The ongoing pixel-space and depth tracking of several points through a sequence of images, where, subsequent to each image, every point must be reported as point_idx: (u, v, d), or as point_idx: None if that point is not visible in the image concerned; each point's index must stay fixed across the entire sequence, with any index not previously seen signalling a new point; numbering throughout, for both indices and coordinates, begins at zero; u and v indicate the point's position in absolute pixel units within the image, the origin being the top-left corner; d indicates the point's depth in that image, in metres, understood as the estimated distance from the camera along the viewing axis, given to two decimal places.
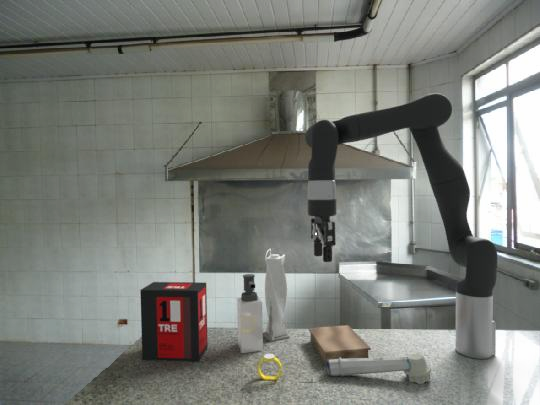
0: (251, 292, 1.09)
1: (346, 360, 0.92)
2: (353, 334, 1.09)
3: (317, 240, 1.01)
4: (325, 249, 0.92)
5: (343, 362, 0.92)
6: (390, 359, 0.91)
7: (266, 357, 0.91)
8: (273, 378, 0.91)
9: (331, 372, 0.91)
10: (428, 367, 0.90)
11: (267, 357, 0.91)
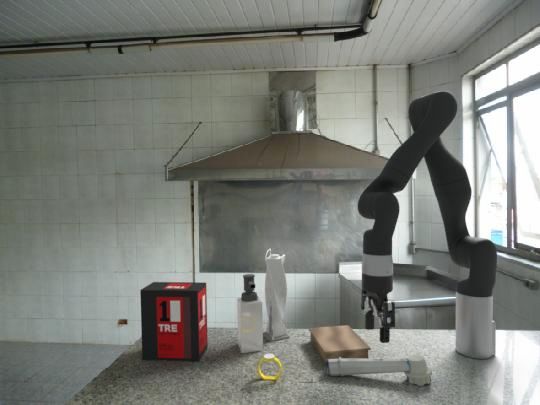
0: (251, 292, 1.09)
1: (346, 360, 0.92)
2: (353, 334, 1.09)
3: (369, 312, 0.95)
4: (383, 329, 0.86)
5: (342, 362, 0.92)
6: (390, 360, 0.90)
7: (266, 357, 0.91)
8: (273, 378, 0.91)
9: (330, 371, 0.92)
10: (429, 369, 0.89)
11: (267, 357, 0.91)
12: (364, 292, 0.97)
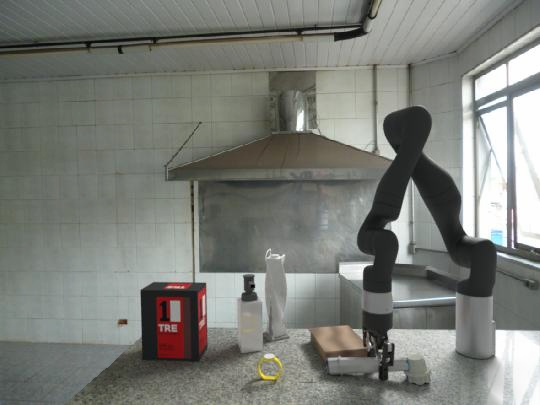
0: (251, 292, 1.09)
1: (345, 359, 0.93)
2: (353, 334, 1.09)
3: (371, 351, 0.95)
4: (381, 368, 0.87)
5: (342, 361, 0.92)
6: (389, 359, 0.91)
7: (266, 357, 0.91)
8: (273, 378, 0.91)
9: (330, 370, 0.92)
10: (428, 368, 0.89)
11: (267, 357, 0.91)
12: (365, 328, 0.97)
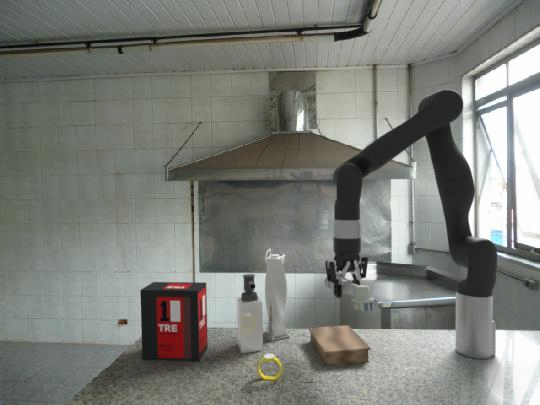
0: (251, 292, 1.09)
1: None
2: (353, 334, 1.09)
3: (354, 278, 1.03)
4: None
5: None
6: (350, 283, 0.99)
7: (266, 357, 0.91)
8: (273, 378, 0.91)
9: (325, 283, 1.13)
10: (368, 299, 0.90)
11: (267, 357, 0.91)
12: None
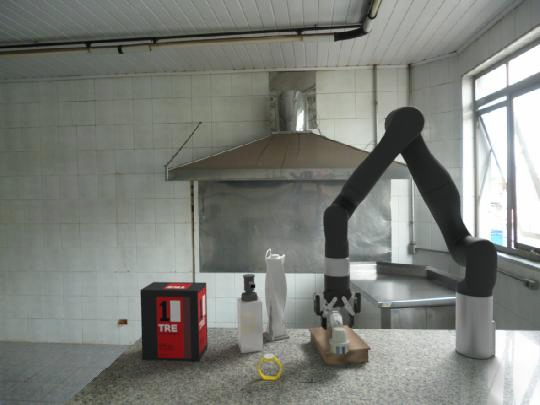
0: (251, 292, 1.09)
1: (334, 313, 1.14)
2: (353, 334, 1.09)
3: (349, 312, 1.07)
4: None
5: (332, 313, 1.15)
6: (336, 323, 1.04)
7: (266, 357, 0.91)
8: (273, 378, 0.91)
9: None
10: (340, 343, 0.94)
11: (267, 357, 0.91)
12: None
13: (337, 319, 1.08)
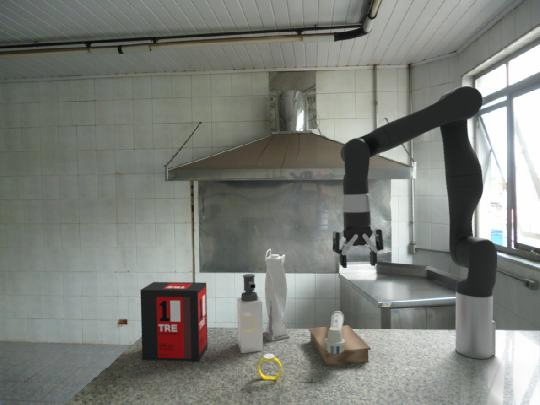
0: (251, 292, 1.09)
1: (336, 314, 1.14)
2: (353, 334, 1.09)
3: (371, 250, 1.04)
4: None
5: (334, 313, 1.15)
6: (334, 323, 1.04)
7: (266, 357, 0.91)
8: (273, 378, 0.91)
9: None
10: (334, 343, 0.95)
11: (267, 357, 0.91)
12: None
13: (337, 319, 1.08)
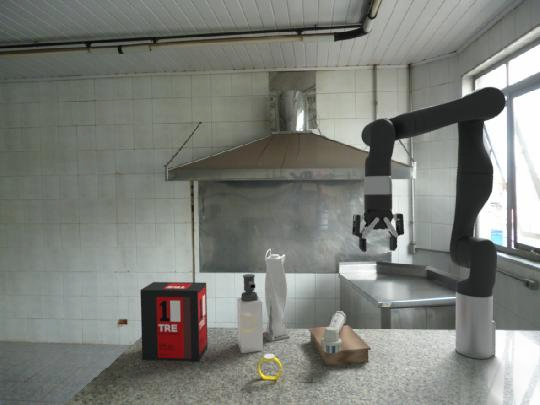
0: (251, 292, 1.09)
1: (337, 314, 1.14)
2: (353, 334, 1.09)
3: (391, 235, 1.02)
4: None
5: (335, 313, 1.15)
6: (333, 323, 1.04)
7: (266, 357, 0.91)
8: (273, 378, 0.91)
9: None
10: (330, 342, 0.95)
11: (267, 357, 0.91)
12: None
13: (336, 319, 1.08)
